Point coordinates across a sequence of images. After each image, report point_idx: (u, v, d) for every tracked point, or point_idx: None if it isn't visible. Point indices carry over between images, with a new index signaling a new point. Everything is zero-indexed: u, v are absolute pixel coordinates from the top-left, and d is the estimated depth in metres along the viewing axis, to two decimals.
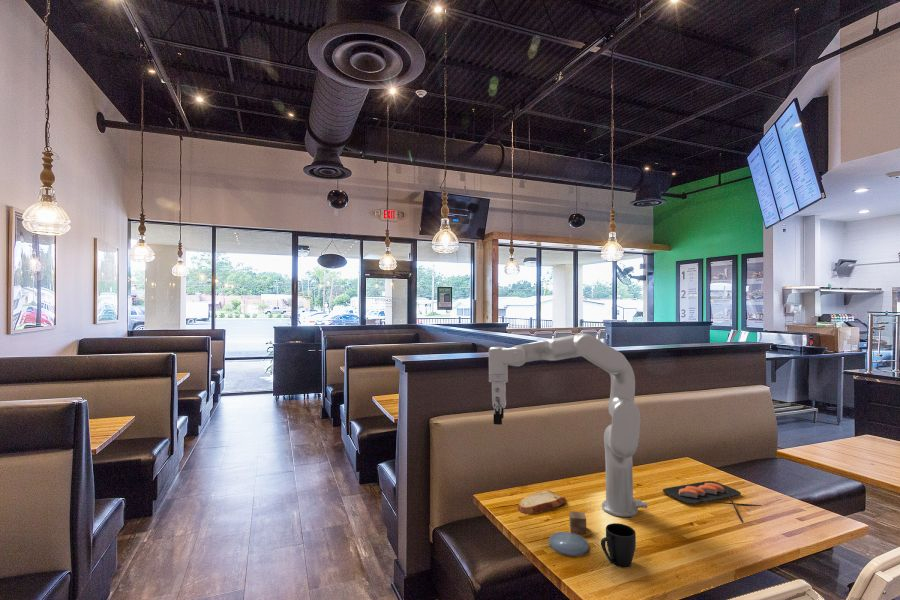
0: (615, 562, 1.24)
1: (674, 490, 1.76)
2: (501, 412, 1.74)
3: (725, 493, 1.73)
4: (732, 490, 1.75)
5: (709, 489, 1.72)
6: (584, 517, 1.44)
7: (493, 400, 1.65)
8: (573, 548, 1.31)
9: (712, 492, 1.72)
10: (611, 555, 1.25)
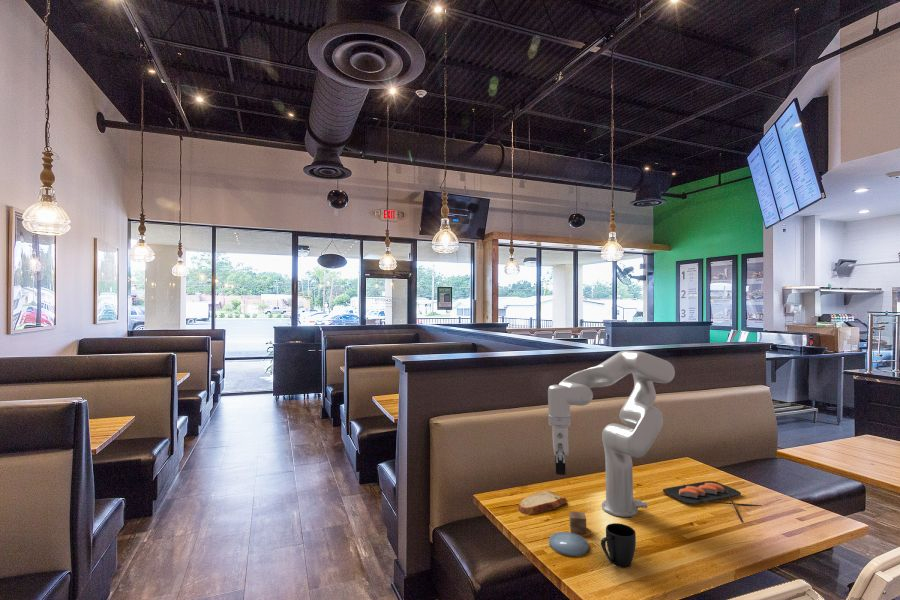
0: (615, 562, 1.24)
1: (674, 490, 1.76)
2: None
3: (725, 493, 1.73)
4: (732, 490, 1.75)
5: (709, 489, 1.72)
6: (584, 517, 1.44)
7: (555, 447, 1.47)
8: (573, 548, 1.31)
9: (712, 492, 1.72)
10: (611, 555, 1.25)
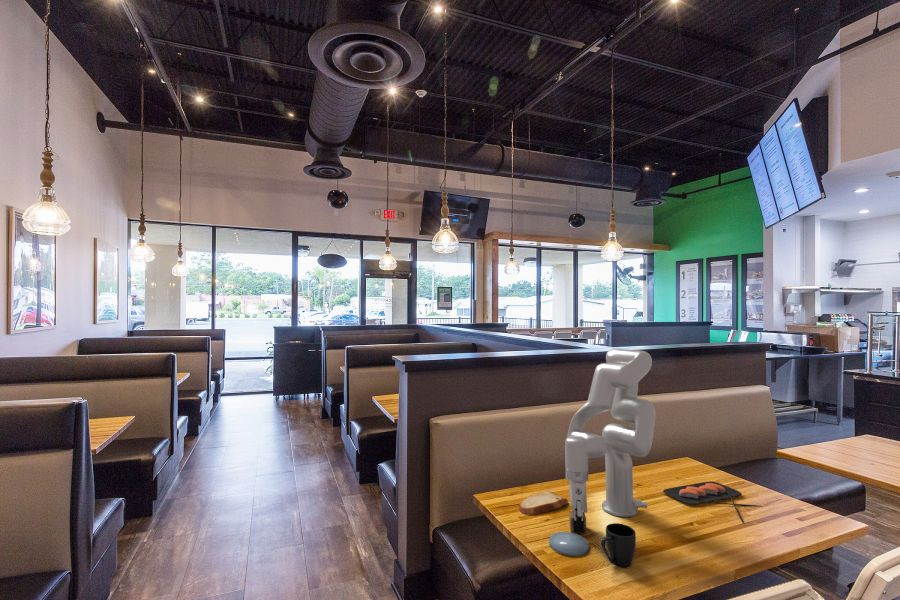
0: (615, 562, 1.24)
1: (675, 490, 1.75)
2: None
3: (726, 493, 1.73)
4: (733, 490, 1.74)
5: (710, 490, 1.72)
6: (584, 517, 1.44)
7: (573, 503, 1.42)
8: (573, 548, 1.31)
9: (713, 493, 1.72)
10: (611, 555, 1.25)
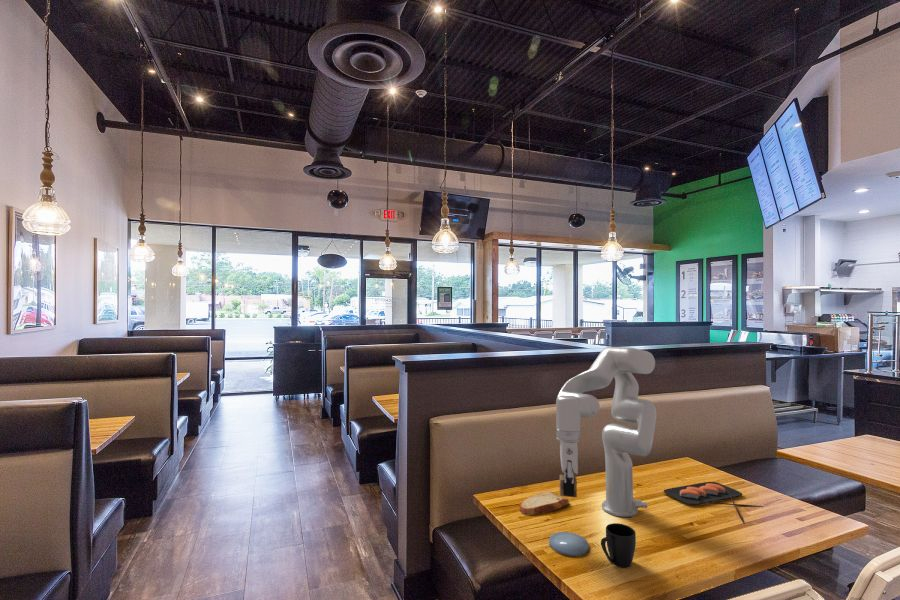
0: (615, 562, 1.24)
1: (675, 491, 1.75)
2: None
3: (726, 494, 1.72)
4: (733, 491, 1.74)
5: (710, 490, 1.72)
6: (575, 479, 1.36)
7: (564, 464, 1.34)
8: (573, 548, 1.31)
9: (713, 493, 1.71)
10: (611, 555, 1.25)
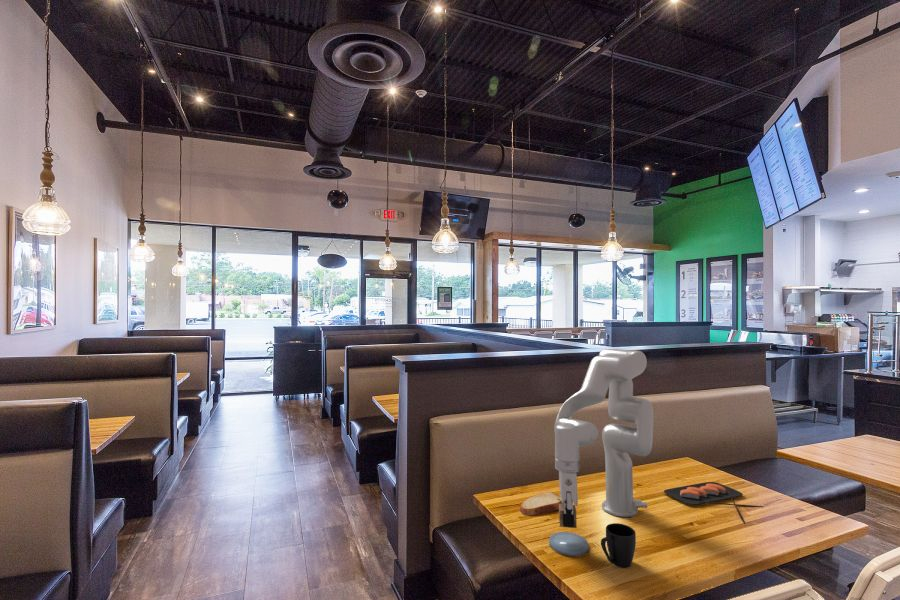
0: (615, 562, 1.24)
1: (676, 491, 1.75)
2: None
3: (727, 494, 1.72)
4: (734, 491, 1.74)
5: (711, 490, 1.72)
6: (574, 510, 1.34)
7: (563, 495, 1.32)
8: (573, 548, 1.31)
9: (714, 493, 1.71)
10: (611, 555, 1.25)
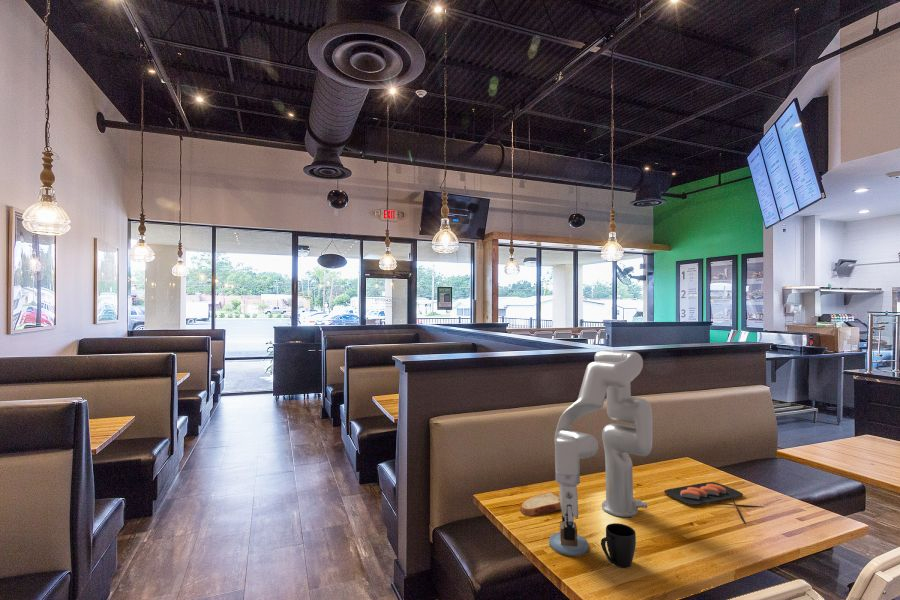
0: (615, 562, 1.24)
1: (676, 491, 1.75)
2: None
3: (727, 494, 1.72)
4: (734, 491, 1.74)
5: (711, 490, 1.71)
6: (575, 528, 1.34)
7: (564, 508, 1.32)
8: (573, 548, 1.31)
9: (714, 493, 1.71)
10: (611, 555, 1.25)
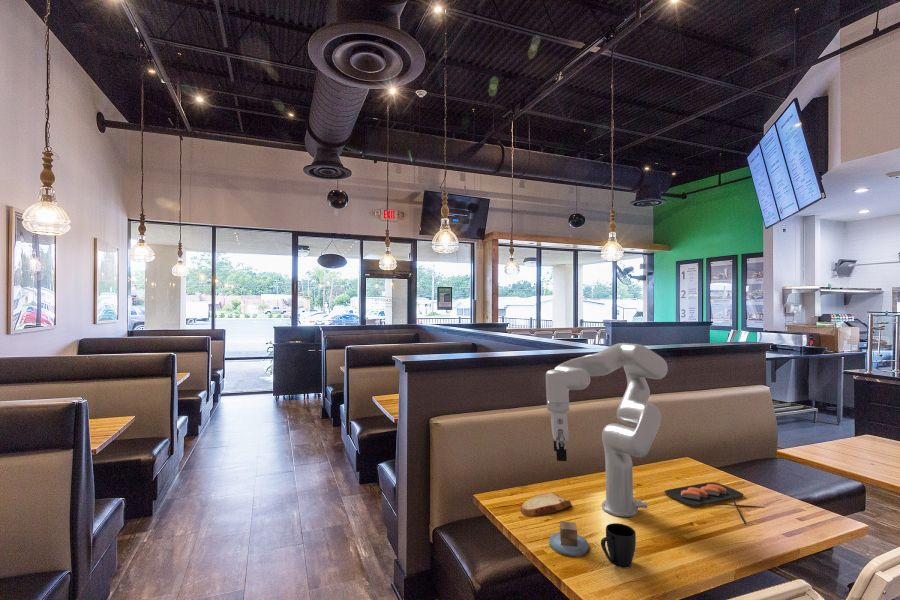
0: (615, 562, 1.24)
1: (676, 491, 1.74)
2: None
3: (727, 494, 1.72)
4: (734, 491, 1.73)
5: (711, 490, 1.71)
6: (575, 528, 1.34)
7: (555, 433, 1.43)
8: (573, 548, 1.31)
9: (714, 493, 1.71)
10: (611, 555, 1.25)
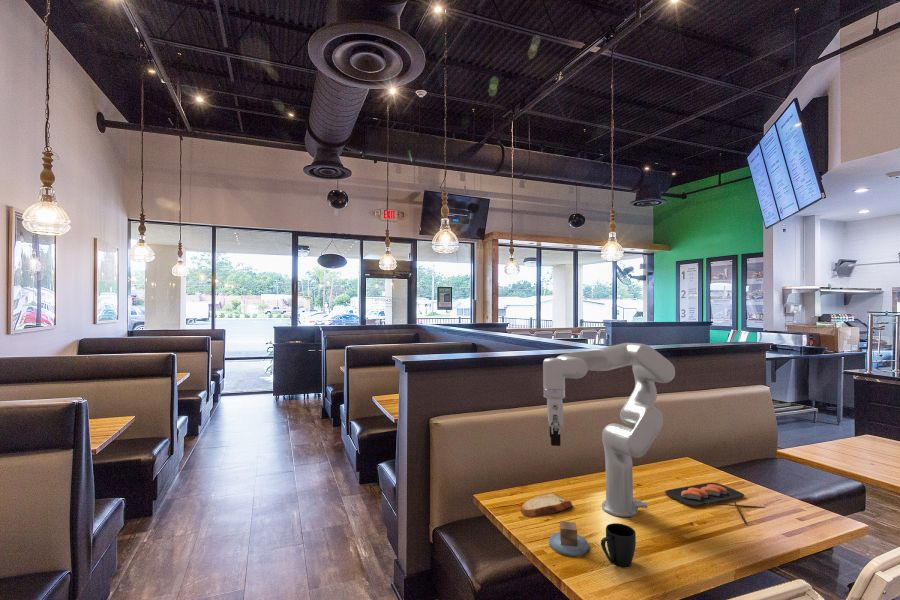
0: (615, 562, 1.24)
1: (677, 492, 1.74)
2: None
3: (728, 495, 1.72)
4: (735, 492, 1.73)
5: (712, 491, 1.71)
6: (575, 528, 1.34)
7: (550, 418, 1.48)
8: (573, 548, 1.31)
9: (715, 494, 1.70)
10: (611, 555, 1.25)
